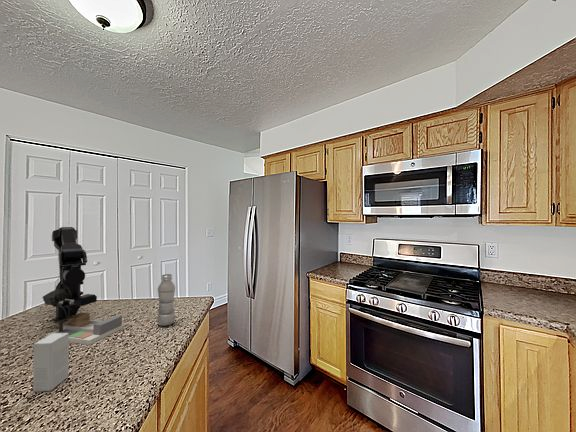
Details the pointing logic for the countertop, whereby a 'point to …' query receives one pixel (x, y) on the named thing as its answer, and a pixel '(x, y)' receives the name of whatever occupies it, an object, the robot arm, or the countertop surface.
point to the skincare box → (50, 361)
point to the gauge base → (92, 330)
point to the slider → (76, 320)
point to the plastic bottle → (166, 301)
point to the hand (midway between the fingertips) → (70, 320)
